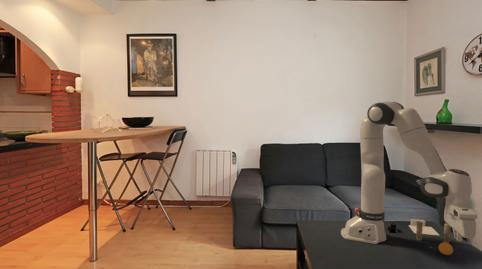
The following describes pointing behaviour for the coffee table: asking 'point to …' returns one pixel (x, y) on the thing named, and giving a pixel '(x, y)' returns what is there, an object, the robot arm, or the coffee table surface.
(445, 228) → the post
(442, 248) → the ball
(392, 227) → the dark slotted block
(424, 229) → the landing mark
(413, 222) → the wall
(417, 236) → the post
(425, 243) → the coffee table surface
